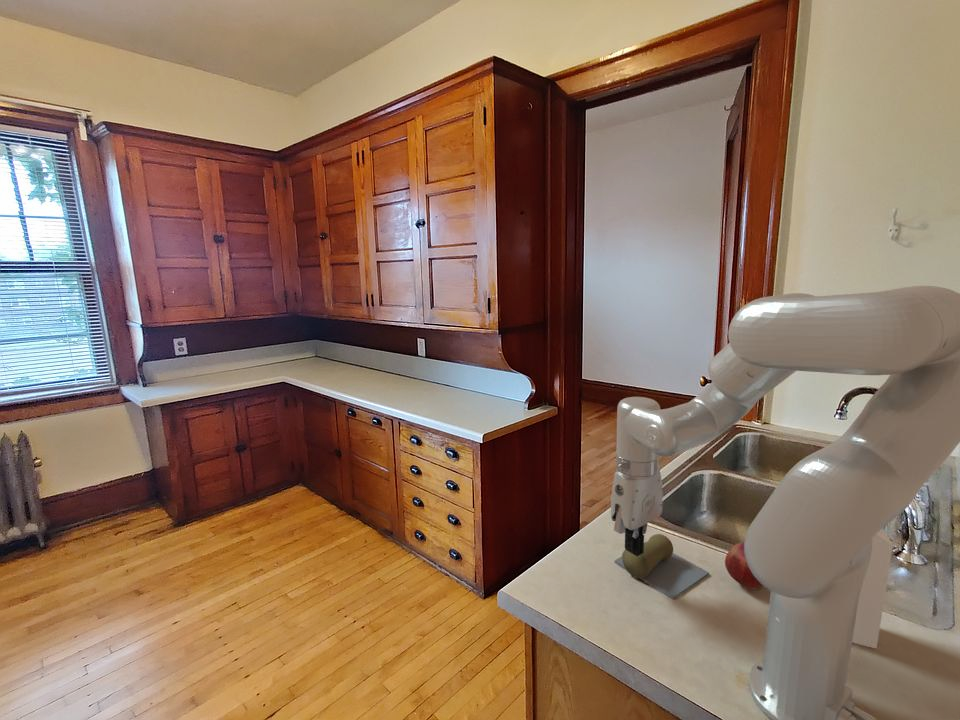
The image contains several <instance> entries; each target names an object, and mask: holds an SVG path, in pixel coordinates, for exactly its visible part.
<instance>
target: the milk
mask: <svg viewBox="0 0 960 720" xmlns="http://www.w3.org/2000/svg"><path fill="white" fill-rule="evenodd" d="M893 548H894V545H893V543H892V541H891V540H890V538H889V536H888V535H887V534H886V532H885V529H884V527H883V528H882V529H881V530H880V531H879V532H878V533H877V534H876V535H875V536H874V537H873V538H872V552H871V557H870V561H869V565H868V568H867V571H866V574H865V578H864V581H863V584H862V588H861V592H860V597H859V602H858V608H857V614H856V621H855V626H854V632H853V639H852V644H856V645H860V646H862V647H863V646H864V647H867V648H870V647H871V648H870V649H874V648H875V650H877V648H878V642H879V636H880V635H879V634H880V631H881V630H880V629H881V625H882V617H883V611H884V604H885V598H886V592H887V585H888V579H889V574H890V573H889V572H890V565H891V559H892V553H893Z"/></svg>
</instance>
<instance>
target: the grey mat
mask: <svg viewBox="0 0 960 720" xmlns="http://www.w3.org/2000/svg"><path fill="white" fill-rule="evenodd" d="M614 564H617V565H618V566H619V567H621V568H622V567H623V568H622V569H624V570H626V568H625V567H624V564H623V561H622V556H620V557H619V558H616V559H615V560H614ZM709 575H710V572H709V571H707V570H705V569H704V568H702V567H700V566H697V565H696V564H695V563H692V562H690V561H688V560H687V559H685V558H683V557H681V556H679V555H677V554H675V553H674V552H673V554H672V555H671V557H670V558H668V559H667V560H661V561H660V562H659V563H658V564H657V566H656V567H655V568H654V569H653V570H652V571H651V572H650V573H649V574H648V575H647V576H646V577H645V578H643V579H640V580H641V581H643V582H645V583H646V584H647V585H649V586H651V587H653V588H654V589H655V590H656V591H659V592H660V593H661V594H664V596H666V597H668V598H670V599H671V600H675V599H676V598H678V597H680V596H681V595H682V594H683V593H685V592H686V591H688V590H689V589H690V588H692V587H694V586H696V584H698V583H700V582H701V581H702V580H704V579H705V578H707V577H709Z"/></svg>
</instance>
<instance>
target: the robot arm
mask: <svg viewBox="0 0 960 720" xmlns="http://www.w3.org/2000/svg"><path fill="white" fill-rule="evenodd" d="M727 333H728V334H727V336H728V343H727V344H726V345H725V346H723V348H722V349H721V350H719V352H717V354H716V355H715V354H714V356H713V357H712V358H711V359H710V361H709V363H708V366H707V372H708V373H707V374H708V375H709V378H710V380H711V382H710V383H709V384H708V385H707V386H706V387H705V388H704V389H703V390H702V391H701V392H700V393H699V394H697V396H695V397H694V398H693V399H691V400H690V401H689V402H685V403H682V404H681V403H680V404H678V405H675V406H673V407H672V406H671V407H669V408H663V409H661V406H660V404H659V402H657V400H655V399H653V398H649V397H643V396H630V397H629V396H628V397H625V398H623V399H621V400H620V401H619V402H618V404H617V407H616V408H617V410H616V411H617V412H616V413H617V414H616V448H615V449H616V450H615V453H616V454H615V472H614V477H613V482H612V488H611V496H610V497H611V498H610V518H611V521H613V522H614V527H613V532H616V533H618V534H624V550H627V551H629V552H630V553H632V554H634V555H635V556H639V555H640V554H643V552H644V543H645V534H646V533H647V529H648V524H649V523H650V522H652V521H654V520H656V519H657V518H659V517H660V516H661V514H662V512H663V481H662V474H661V469H660V468H659V460H660V458H659V457H660V456H661V457H666V458H667V457H674V456H676V455H679V454H682V453H685V452H686V451H690V450H692V449H695V448H697V447H700V446H702V445H706V444H707V443H709V442H712V441H714V440H715V439H717V438H718V437H719V436H721V435H722V434H723V433H725V432H726V431H728V430H729V429H730V428H731V427H733V426H735V424H737V423H738V422H739V421H740V420H742V419H743V418H744V417H745V416H746V415H747V414H748V413H749V412H750V411H751V410H752V408H754V407H755V405H756V404H757V402H759V400H760V399H762V398H764V397H765V396H766V395H767V394H769V392H772V391H773V390H774V389H775V388H776V387H778V386H779V385H780V384H781V383H782V382H784V381H785V380H786V379H788V378H789V377H791V376H792V375H793V374H795V372H807V373H808V372H812V373H813V372H814V373H823V374H824V373H827V374H838V375H839V374H841V375H843V374H844V375H857V376H888V377H887V379H886V380H885V381H884V382H883V384H882V385H881V386H880V387H879V388H878V389H877V390H876V392H875V393H874V394H873V395H872V396H870V397H871V398H870V399H869V400H868V401H867V402H866V404H865V406H864V407H863V409H862V411H860V413H859V414H858V416H857V417H856V419H855V420H854V421H853V422H852V423H851V425H850V426H849V427H848V429H847V430H846V431H845V432H844V433H843V434H842V435H841V436H840V437H839V438H838V439H837V440H835V441H834V442H831V443H830V444H828V445H827V446H824V447H822V448H820V449H819V450H816V451H815V452H812V453H811V454H808V455H807V456H805V457H804V458H802V459H801V460H800V461H798V462H797V463H796V464H795V465H794V466H793V467H792V468H791V469H789V471H788V472H786V474H785V475H784V476H783V477H782V479H781V481H780V482H779V483H778V485H776V487H775V489H774V490H773V492H772V493H771V495H770V496H769V498H768V499H767V500H766V502H765V504H764V505H763V506H762V508H761V509H760V510H759V512H758V513H757V514H756V516H755V517H754V519H753V521H752V522H751V524H749V525H750V526H748V528H747V531H746V533H745V536H744V541H743V543H744V554H745V558H746V561H747V564H748V566H749V568H750V570H751V572H752V574H753V575H754V576H755V578H756V579H757V580H758V581H759V582H760V583H761V584H762V585H763V587H764V588H766V589H768V590H769V591H770V596H769V606H768V607H769V608H768V615H767V625H766V626H767V627H766V633H765V634H766V635H765V644H764V645H765V646H764V655H763V660H762V661H759V662H757V663H756V664H755V665H754V666H753V667H752V668H751V671H750V672H749V680H748V683H749V690H750V693H751V696H752V697H753V699H754V701H755V703H756V704H757V705H758V706H759V708H760V709H761V710H762V711H763V712H764V713H765V715H766V716H767V717H768V718H769V719H771V720H877V718H876V717H874V716H873V715H871V714H870V713H868V712H867V711H864V710H862V709H860V708H858V707H857V706H856V703H854V702H853V701H852V698H853V692H854V691H853V689H852V688H850V687H848V686H847V680H848V671H849V664H850V658H851V651H852V644H853V643H852V639H853V632H854V626H855V621H856V614H857V608H858V602H859V597H860V592H861V588H862V584H863V581H864V578H865V574H866V571H867V568H868V565H869V561H870V557H871V552H872V538H873V537H874V536H875V535H876V534H877V533H878V532H879V531H880V530H881V529H882V528H883V529H884V527H886V526H887V525H888V524H890V522H891V521H893V520H895V519H896V518H897V517H898V516H899V515H902V513H903V512H904V511H905V510H906V509H907V508H908V507H909V506H910V505H911V503H912V502H913V501H914V499H915V497H916V496H917V495H918V493H919V492H920V491H921V489H922V488H923V486H925V484H926V482H927V481H928V480H929V479H930V478H931V477H932V475H934V473H935V472H936V471H937V470H938V469H939V467H941V466H942V464H943V463H944V462H945V461H946V460H947V459H948V458H949V456H950V455H951V454H952V453H953V452H954V450H955V449H956V448H957V446H958V445H959V444H960V292H957V291H955V290H951V288H950V289H949V288H945V287H941V286H937V285H935V286H934V285H915V286H906V287H899V288H895V289H888V290H881V291H873V292H863V293H862V292H861V293H860V292H859V293H847V294H833V295H814V294H810V293H803V292H795V293H793V292H792V293H786V294H785V293H784V294H778V295H777V294H776V295H771V296H769V295H768V296H763V297H760V298H756V299H753V300H752V301H749V302H748V303H746V304H744V305H743V306H742V307H741V308H740V309H739V310H738V311H737V312H736V313H735V315H734V316H733V317H732V319H731V322H730V324H729V327H728V332H727Z"/></svg>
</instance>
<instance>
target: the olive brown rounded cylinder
mask: <svg viewBox="0 0 960 720" xmlns="http://www.w3.org/2000/svg"><path fill="white" fill-rule="evenodd" d="M673 545H674V544H673V543H672V540H671V539H670V538H669V537H667V536H666V535H664V534H661V533H657V534H653V535H651V536H650V537H649V539H648V541H644V552H643V554H640V555H639V556H635V555H634V554H632V553H630V552H629V551H627V550H626V549H624V550H623V552H622V554H621V557H622V561H623V564H624V567H625V568H626V569H625V571H627V573H628V574H630V575H631V576H632V577H633V578H635V579H639V580H641V579H643V578H645V577H646V576H647V575H648V574H649V573H650V572H651V571H652V570H653V569H654V568H655V567H656V566H657V564H658V563H659V562H660V561H661V560H667V559H668V558H670V557H671V555H672V554H673V553H674V546H673Z"/></svg>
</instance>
